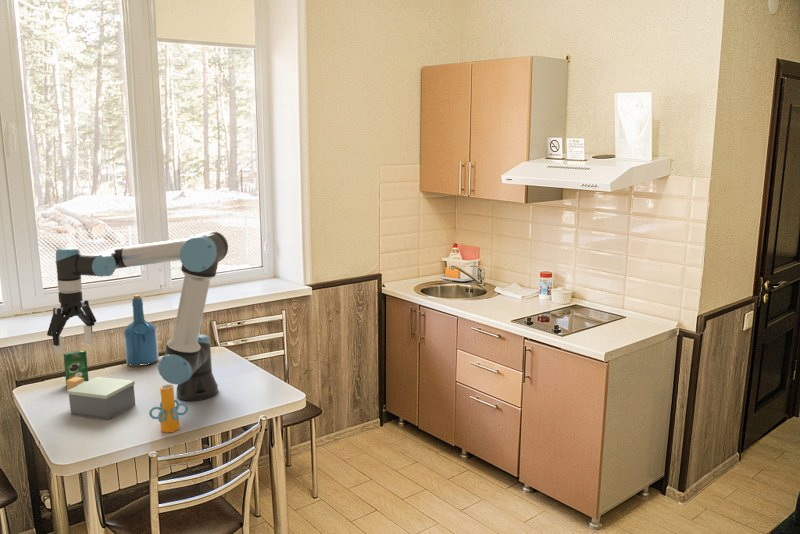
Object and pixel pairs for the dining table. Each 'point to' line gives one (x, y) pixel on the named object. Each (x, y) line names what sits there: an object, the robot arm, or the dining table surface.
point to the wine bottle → (140, 337)
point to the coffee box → (76, 365)
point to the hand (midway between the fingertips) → (74, 348)
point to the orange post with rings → (168, 410)
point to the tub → (102, 405)
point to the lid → (97, 386)
